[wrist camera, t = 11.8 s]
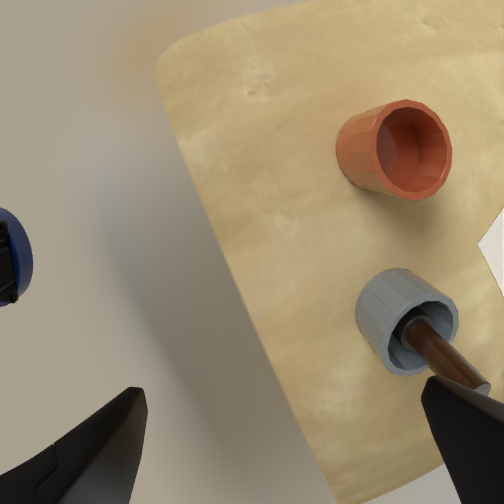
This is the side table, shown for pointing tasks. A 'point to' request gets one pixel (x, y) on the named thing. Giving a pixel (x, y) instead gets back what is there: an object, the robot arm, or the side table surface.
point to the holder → (396, 150)
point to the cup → (394, 308)
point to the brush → (437, 351)
